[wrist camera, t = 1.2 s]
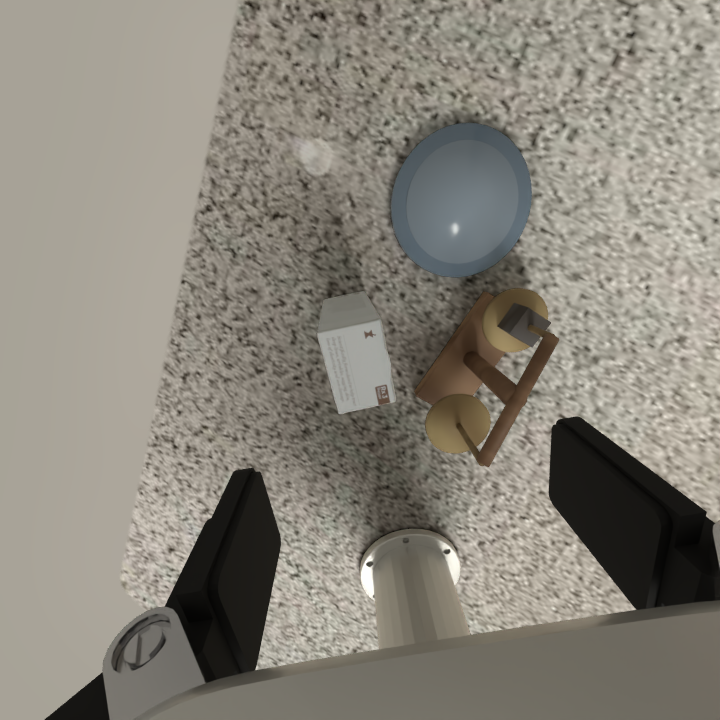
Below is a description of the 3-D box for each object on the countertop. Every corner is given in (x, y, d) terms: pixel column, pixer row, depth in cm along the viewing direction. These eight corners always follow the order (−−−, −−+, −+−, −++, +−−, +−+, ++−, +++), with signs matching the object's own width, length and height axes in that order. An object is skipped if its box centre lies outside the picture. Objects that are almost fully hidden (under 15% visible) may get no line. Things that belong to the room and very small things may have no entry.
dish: (525, 264, 32) (532, 265, 31) (399, 286, 32) (401, 287, 31) (525, 115, 28) (533, 110, 27) (381, 140, 28) (383, 135, 27)
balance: (445, 426, 37) (491, 510, 25) (402, 403, 36) (430, 480, 24) (537, 303, 33) (643, 334, 21) (492, 272, 32) (578, 288, 20)
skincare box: (321, 299, 32) (308, 329, 21) (367, 289, 32) (381, 313, 20) (336, 359, 34) (332, 418, 22) (380, 350, 34) (398, 404, 22)
